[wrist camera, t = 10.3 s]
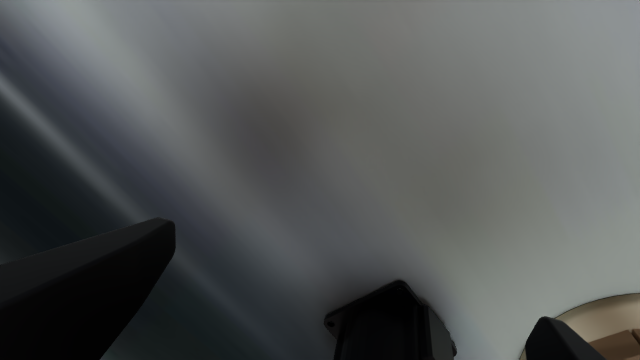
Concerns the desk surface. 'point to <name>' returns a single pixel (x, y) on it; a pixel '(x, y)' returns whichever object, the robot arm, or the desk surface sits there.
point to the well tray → (608, 326)
